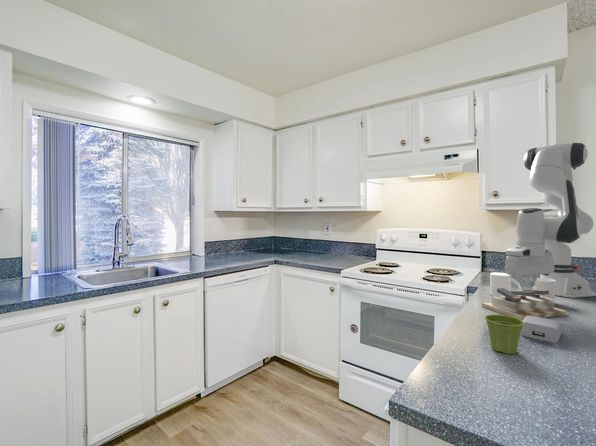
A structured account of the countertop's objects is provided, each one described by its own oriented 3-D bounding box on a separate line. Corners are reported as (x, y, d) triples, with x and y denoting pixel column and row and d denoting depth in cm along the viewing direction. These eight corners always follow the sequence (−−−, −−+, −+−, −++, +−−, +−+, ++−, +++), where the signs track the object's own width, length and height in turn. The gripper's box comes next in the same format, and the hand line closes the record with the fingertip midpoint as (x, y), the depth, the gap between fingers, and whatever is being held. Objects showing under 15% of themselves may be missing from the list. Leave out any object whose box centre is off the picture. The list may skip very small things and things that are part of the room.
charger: (563, 330, 101) (557, 344, 91) (528, 323, 108) (520, 336, 97) (563, 316, 101) (558, 328, 91) (528, 310, 108) (520, 321, 97)
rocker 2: (516, 294, 126) (515, 290, 126) (535, 295, 118) (534, 291, 118) (510, 294, 125) (509, 290, 125) (529, 296, 117) (528, 292, 118)
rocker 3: (529, 292, 128) (528, 289, 128) (549, 294, 120) (548, 290, 120) (523, 293, 127) (523, 289, 127) (543, 294, 119) (542, 290, 119)
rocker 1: (502, 291, 124) (503, 287, 124) (520, 301, 117) (521, 298, 116) (496, 291, 123) (497, 288, 123) (514, 302, 116) (515, 298, 115)
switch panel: (523, 302, 133) (523, 289, 133) (566, 314, 116) (566, 299, 116) (481, 306, 127) (481, 293, 127) (520, 320, 111) (520, 304, 111)
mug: (491, 271, 149) (521, 274, 142) (491, 292, 150) (521, 296, 142) (489, 274, 143) (520, 277, 135) (489, 296, 143) (520, 300, 136)
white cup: (560, 305, 128) (560, 281, 128) (538, 304, 129) (538, 281, 129) (548, 300, 136) (549, 277, 135) (528, 299, 137) (528, 277, 137)
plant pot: (477, 342, 92) (478, 314, 92) (509, 342, 92) (510, 314, 92) (497, 357, 83) (497, 325, 83) (532, 357, 82) (533, 325, 82)
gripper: (542, 248, 124) (542, 282, 124) (502, 250, 119) (501, 285, 119) (559, 250, 118) (559, 286, 118) (517, 252, 113) (516, 289, 113)
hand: (530, 285), depth 118 cm, fingers closed
